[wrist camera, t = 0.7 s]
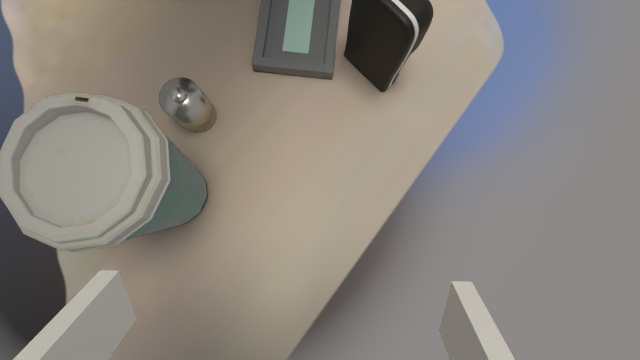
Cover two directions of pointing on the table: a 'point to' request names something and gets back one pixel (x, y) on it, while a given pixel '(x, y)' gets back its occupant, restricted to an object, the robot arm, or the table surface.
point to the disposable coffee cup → (94, 173)
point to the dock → (296, 37)
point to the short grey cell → (187, 105)
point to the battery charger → (385, 36)
